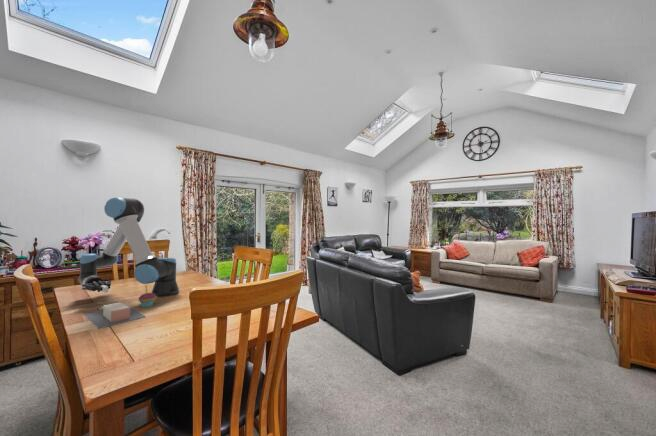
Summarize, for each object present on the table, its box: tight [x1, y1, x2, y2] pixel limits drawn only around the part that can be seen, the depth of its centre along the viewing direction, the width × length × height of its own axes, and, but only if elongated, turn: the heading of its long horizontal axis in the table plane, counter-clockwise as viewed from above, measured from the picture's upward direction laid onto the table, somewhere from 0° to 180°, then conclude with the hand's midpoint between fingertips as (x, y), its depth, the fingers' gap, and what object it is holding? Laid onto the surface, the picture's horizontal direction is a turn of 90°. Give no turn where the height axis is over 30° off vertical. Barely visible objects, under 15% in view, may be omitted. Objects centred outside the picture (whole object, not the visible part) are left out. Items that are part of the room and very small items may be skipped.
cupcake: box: [138, 284, 158, 308], centre depth 149 cm, size 9×8×12 cm
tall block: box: [102, 301, 130, 322], centre depth 132 cm, size 5×7×14 cm
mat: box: [83, 304, 147, 330], centre depth 134 cm, size 28×18×1 cm, turn 53°
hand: (106, 289), depth 141 cm, fingers closed
